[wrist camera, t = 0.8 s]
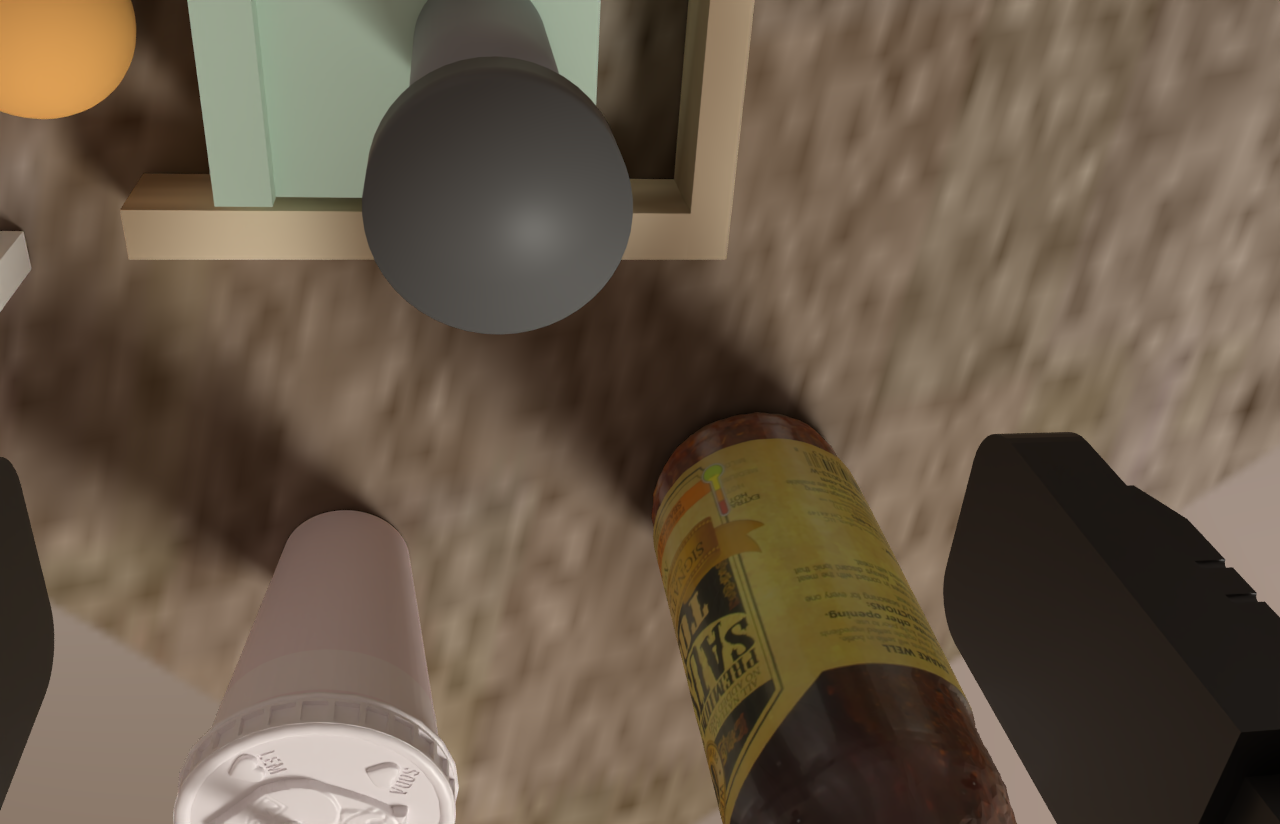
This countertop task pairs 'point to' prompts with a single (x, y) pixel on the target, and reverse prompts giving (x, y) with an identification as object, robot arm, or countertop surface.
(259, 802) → the smoothie
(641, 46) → the countertop surface
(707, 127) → the wooden rectangular frame
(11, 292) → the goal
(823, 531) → the sauce bottle
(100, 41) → the ball
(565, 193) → the striker
